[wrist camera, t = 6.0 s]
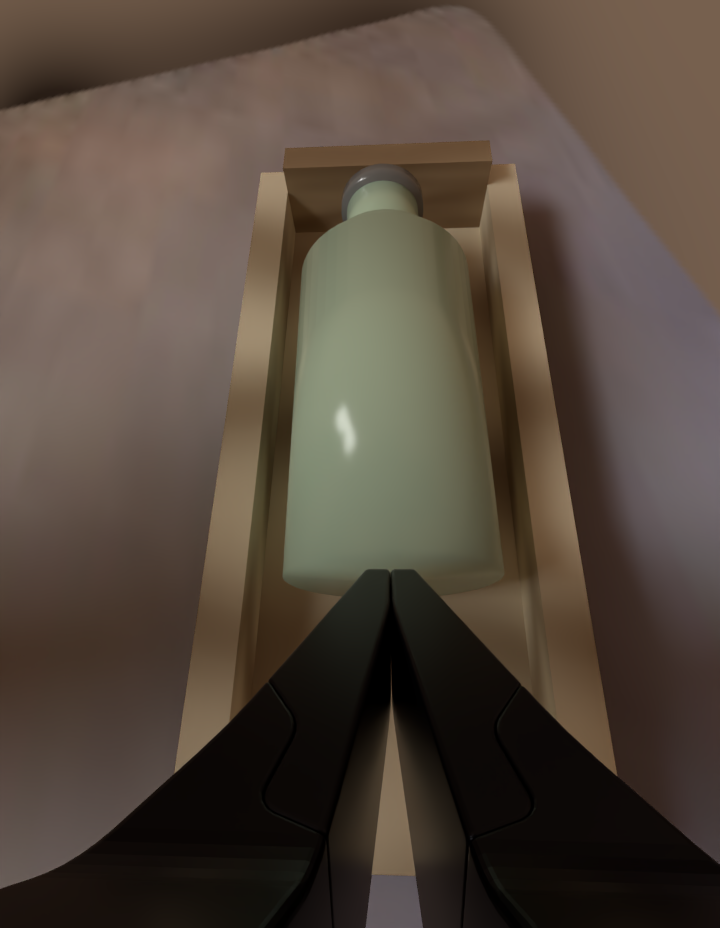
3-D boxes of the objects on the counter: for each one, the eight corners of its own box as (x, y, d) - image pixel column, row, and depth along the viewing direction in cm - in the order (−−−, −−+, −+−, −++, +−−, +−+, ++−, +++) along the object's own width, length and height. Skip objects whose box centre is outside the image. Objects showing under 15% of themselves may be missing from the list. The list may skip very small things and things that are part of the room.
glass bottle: (317, 539, 10) (333, 98, 16) (263, 591, 15) (290, 238, 20) (554, 564, 12) (488, 159, 17) (437, 602, 16) (416, 275, 22)
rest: (596, 876, 13) (664, 934, 10) (195, 862, 13) (136, 913, 10) (502, 216, 23) (520, 139, 20) (273, 223, 23) (255, 149, 20)
